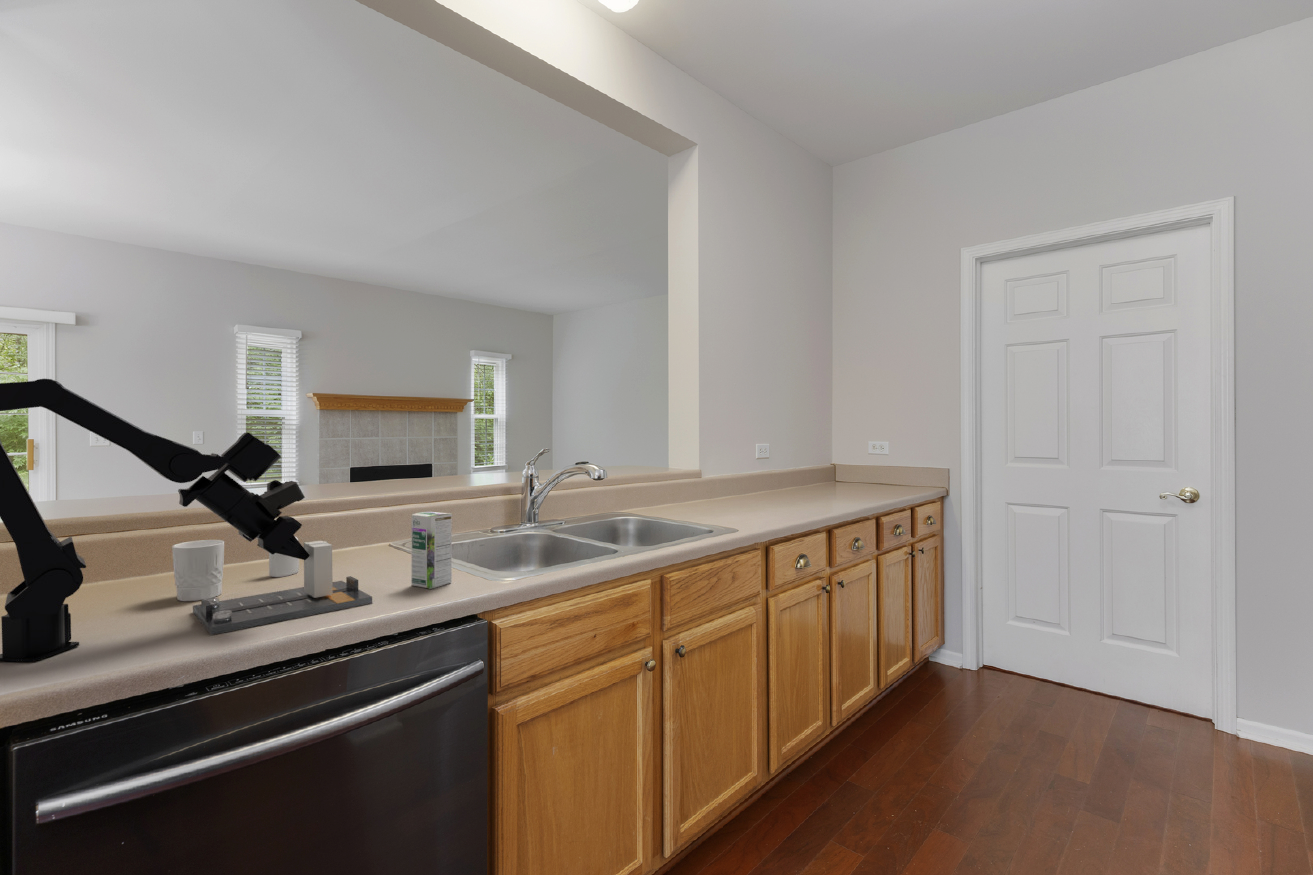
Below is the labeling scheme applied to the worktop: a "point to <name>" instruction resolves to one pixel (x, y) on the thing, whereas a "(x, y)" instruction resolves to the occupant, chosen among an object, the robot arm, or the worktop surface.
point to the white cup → (198, 569)
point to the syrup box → (431, 549)
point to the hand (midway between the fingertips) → (307, 557)
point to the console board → (276, 607)
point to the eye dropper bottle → (282, 565)
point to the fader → (318, 569)
